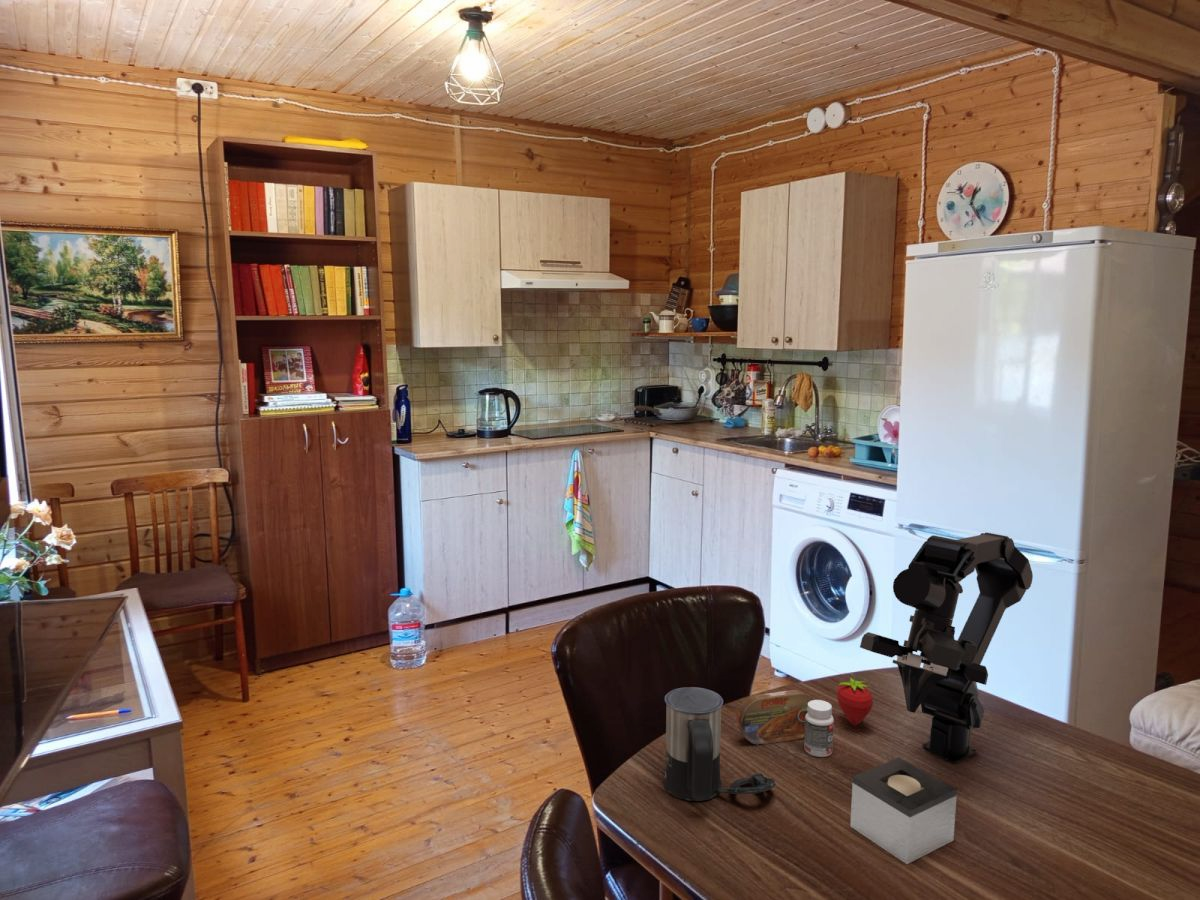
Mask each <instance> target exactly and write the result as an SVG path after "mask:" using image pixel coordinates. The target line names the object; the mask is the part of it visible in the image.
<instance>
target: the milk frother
mask: <svg viewBox="0 0 1200 900" xmlns="http://www.w3.org/2000/svg"><path fill="white" fill-rule="evenodd" d="M664 702H665V704H666V711H665V712H666V713H665V715H666V717H665V719H666V721H665V725H666V727H665V736H666V737H665V742H666V744H665V749H666V750H665V775H664V776H665V777H664V780H663V785H664V788H665V790H666V791H667V793H669V794H670V795H671V796H673V797H675V798H678V799H681V800H685V801H691V802H692V801H693V802H694V801H695V802H696V801H697V802H701V801H707V800H710V799H713V798H715V797H717V796H718V795H719V794H720V793H722V794H734V795H735V794H736V795H751V794H754V795H755V794H761V793H764V792H766V791H767V792H768V791H770V790H772V789H774V788H775V787H776V780H774V779H773V778H770V777H767V776H766V777H765V776H764V775H763V773H761V772H758V773H754V774H751V776H749V777H743V778H738V779H736V780H735V781H733V782H731V783H730V784H729V788H728V787H727V788H725V787H722V785H723V784H722V780H721V729H722V728H721V727H722V724H721V723H722V720H721V719H722V706H723V705H724V699H723V698H722V696H721V695H720V694H719V693H717V692H715V691H713V690H710V689H707V688H703V687H695V686H691V687H690V686H688V687H687V686H686V687H679V688H674V689H672V690H671V691H669V692H668V693H666V695H664ZM749 783H750V784H751V785H752V787H750V786H747V787H746V786H744V785H746V784H749ZM742 785H743V787H741V786H742Z"/></svg>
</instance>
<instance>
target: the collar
mask: <svg viewBox="0 0 1200 900" xmlns="http://www.w3.org/2000/svg"><path fill="white" fill-rule="evenodd" d="M894 775H905V776H909V777H912V778H914V779H915V780H917V781H918V782H919V783H920V785H921V788H920V791H918V792H916V793H913V794H911V795H909V796H906V795H904V794H902V793H901V792H899V791H897V790H896V789H894V788H892V787H890V786H889V785H888V779H889V777H891V776H894ZM851 788H852V789H851V803H850V804H851V805H850V807H851V808H850V828H852V829H853V830H855V832H858V833H859V834H860V835H862V836H864V837H865V838H867V839H868V840H870V841H871V842H873V843H874V844H875V845H877V846H879V847H880V848H882V849H883V850H884V851H886V852H887V853H889V854H891V855H892V856H894V857H895V858H896V859H897V860H899V861H901V862H903V863H904V864H905V865H909V864H911V863H913V862H914V861H916V860H919V859H921V858H922V857H924V856H926V855H928V854H930V853H932V852H933V851H936V850H939V849H940V848H942V847H943V846H945V845H947V844H949V843H951V842H954V836H955V822H956V811H957V810H956V809H957V795H958V788H956V787H954V786H953V785H951V784H949V783H947V782H945V781H943V780H942V779H939V778H937V777H936V776H934V775H932V774H930V773H928V772H927V771H925V770H923V769H921V768H920V767H917V766H916V765H914V764H912V763H910V762H909V761H908V760H907V761H906V760H905V759H903V758H901V757H896V758H894V759H892V760H889V761H887V762H884V763H881V764H879V765H877V766H874V767H872V768H870V769H867V770H865V771H863V772H860V773H857V774H856V775H852V786H851Z"/></svg>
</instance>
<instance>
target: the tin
mask: <svg viewBox="0 0 1200 900" xmlns="http://www.w3.org/2000/svg"><path fill="white" fill-rule="evenodd" d="M812 700H815V699H814V697H812V696H810V695H809V694H807V693H806V692H804V691H802V690H799V689H790V690H781V691H775V692H768V693H762V694H761V693H759V694H754V695H751V696H749V697H747V698H746V699H745V700H744V701H743V702H742V703H741V704H740V705H739V708H738V710H737V714H736V723H737V724H736V725H737V728H738V730H739V731H740V733H741V734H742V735H743V737H744V738H745V740H747V741H748V742H749V743H751V744H753V745H759V744H764V745H769V743H770V744H775V743H776V742H777V743H782V742H788V741H796V740H801V739H805V716H806V714H807V713H808V711H807V708H808V702H810V701H812Z"/></svg>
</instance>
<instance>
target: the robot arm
mask: <svg viewBox="0 0 1200 900" xmlns="http://www.w3.org/2000/svg"><path fill="white" fill-rule="evenodd" d="M974 572H976V582H977V587H978V590H979V593H978V596H977V597H976V601H975V603H974V605H973V607H972V609H971V611H970V612H969V613H970V614H969V615H968V617H967V619H966V621H965V623H964V625H963V628H962V630H961V631H960V634H959V636H958V638H957V639H955V633H956V626H953V622H954V621H953V620H954V617H955V612H956V609H957V606H958V605H957V603H958V601H959V595H960V594H963V592H964V590H963V589H964V588H963V586H962V585H961V581H962V580H964V579H966V578H967V577H968V576H969V575H971V574H972V573H974ZM1033 576H1034V575H1033V570H1032V568H1031V564H1030V560H1029V559H1028V558H1027V557H1026V556H1025V554H1023V553H1022V552H1021V551H1020V550H1019V549H1018V548H1017V547H1016V545H1015V543H1014V539H1013V538H1011V537H1009V536H1008V535H1002V534H998V533H997V534H996V533H993V532H984V533H980V534H979V535H974V536H968V537H964V538H959V539H954V538H949V537H945V536H944V537H943V536H938V535H931V536H929V537H928V538H927V539H926V541H924V543H923V544H922V545H921V547H920V548H919V550H918V551H917V552H916V554H915V556H914V557H913V558H912V559H911V561H910V563H909V564H908V568H905V569H903V570H901V572H899V573H898V574H897V575H896V577H895V578H894V580H893V585H892V589H893V590H892V591H893V594H894V596H895V598H896V599H897V600H898V601H899V602H900V603H902V604H904V605H906V606H908V607H912V608H913V609H915V610H914V613H913V615H911V614H910V616H909V619H908V620H909V621H908V622H911V625H910V630H909V635H908V638H907V639H904V640H903V641H904V642H903V645H901V644H899V643H900V642H899V640H897V639H893V638H890V637H886V636H884V635H880V634H878V633H872V632H870V631H867V632H866V633H864V634H863V636H862V637H861V642H860V644H859V648H860V649H863V650H865V651H869V652H871V653H875V654H879V655H882V656H885V657H888V658H894V657H895V656H896V658H897V659H893V660H892V663H893V664H895V665H897V668H898V672H899V676H900V678H901V682H902V688H903V692H904V699H905V705H906V710H907V711H908V712H910V713H913V714H915V713H916V712H917V710H918V709H919V707H920V706H921V713H922V714H924V715H925V714H926V715H927V716H928V715H929V716H931V727H930V732H929V733H930V734H929V735H930V736H929V740H928V741H927V742H925V743H923V744H922V748H923V749H925V750H926V751H928V752H931V753H932V754H935V755H937V756H938V757H940V758H942V759H943V760H945V761H948V762H950V763H952V764H957V763H960V762H961V761H963V760H965V759H968V758H971V757H972V756H974V755H977V754H978V750H977V749H976V748H973V747H971V746H970V739H971V738H970V736H971V730H973V729H980V728H981V727H982V722H983V719H984V713H985V708H984V705H982V703H981V701H980V699H979V698H978V696H979V689H978V685H977V684H981V685H984V686H986V685H987V682H988V678H989V672H988V669H987V667H986V665H982V662H983V660H984V657H985V655H986V653H987V651H988V648H989V646H990V644H991V643H992V640H993V637H994V635H995V633H996V631H997V629H998V627H999V624H1000V622H1001V620H1002V618H1003V616H1004V613H1005V611H1006V609H1008V608H1010V607H1012V606H1014V605H1015V604H1017V603H1019V602H1021V601H1022V599H1023V597H1024V595H1025V593H1026V592H1027V590H1029V589H1030V588H1031V586H1032V584H1033V578H1034V577H1033ZM914 652H915V653H914ZM918 652H920V654H916V653H918ZM921 664H922V667H921Z"/></svg>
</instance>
